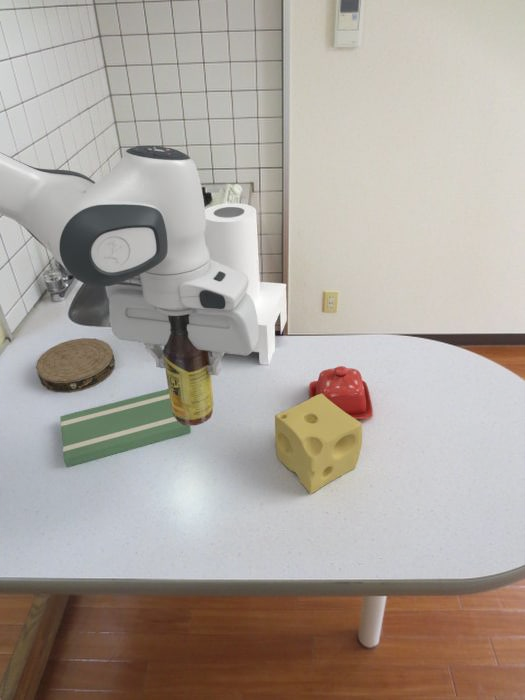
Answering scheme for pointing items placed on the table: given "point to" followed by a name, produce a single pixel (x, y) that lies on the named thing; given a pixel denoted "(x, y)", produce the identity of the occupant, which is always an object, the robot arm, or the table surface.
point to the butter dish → (344, 391)
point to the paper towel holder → (246, 267)
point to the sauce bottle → (187, 375)
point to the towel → (119, 427)
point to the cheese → (317, 441)
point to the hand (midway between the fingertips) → (189, 369)
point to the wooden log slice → (75, 365)
